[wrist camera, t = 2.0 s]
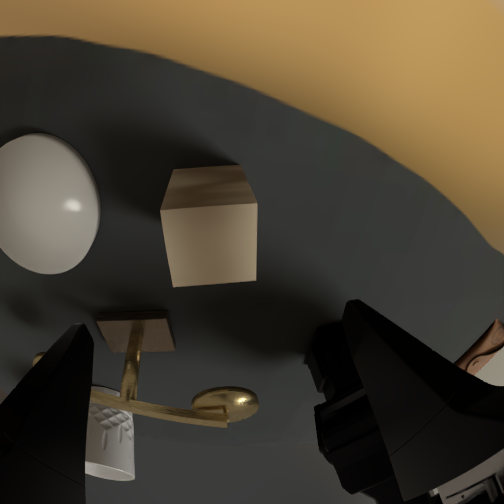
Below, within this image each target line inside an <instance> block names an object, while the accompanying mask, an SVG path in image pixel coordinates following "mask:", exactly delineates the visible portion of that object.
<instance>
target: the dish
mask: <svg viewBox="0 0 504 504" xmlns="http://www.w3.org/2000/svg"><path fill="white" fill-rule="evenodd" d="M100 219H101V202H100V195H99V191H98V187H97V183H96V181H95V178H94V175H93V174H92V172H91V170H90V168H89V166H88V164H87V163H86V161H85V160H84V158H83V157H82V156H81V155H80V154H79V153H78V151H77V150H75V149H74V148H73V147H72V146H71V145H70V144H68V143H67V142H65V141H64V140H62V139H60V138H58V137H56V136H53V135H50V134H45V133H31V134H27V135H24V136H21V137H19V138H17V139H14V140H12V141H10V142H8V143H6V144H5V145H4V146H2V147H1V148H0V248H1V249H2V250H3V251H4V253H5V254H6V255H7V256H8V257H10V258H11V259H12V260H13V261H14V262H16V263H17V264H19V265H20V266H22V267H24V268H26V269H28V270H31V271H33V272H37V273H42V274H58V273H62V272H65V271H68V270H70V269H72V268H73V267H75V266H76V265H77V264H78V263H79V262H80V261H81V260H82V259H83V258H84V257H85V255H86V254H87V252H88V251H89V249H90V247H91V245H92V243H93V242H94V240H95V238H96V235H97V232H98V230H99V225H100Z"/></svg>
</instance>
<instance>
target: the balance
mask: <svg viewBox="0 0 504 504" xmlns="http://www.w3.org/2000/svg"><path fill="white" fill-rule="evenodd" d="M96 322H97V324H98V326H99V328H100V330H101V332H102V334H103V336H104V338H105V340H106V342H107V344H108V346H109V348H110V350H111V352H126V357H125V363H124V370H123V377H122V384H121V391H120V397H118V396H114V395H110V394H107V393H103V392H99V391H95V390H92V389H91V395H90V401H91V402H94V403H97V404H101V405H104V406H108V407H112V408H115V409H119V410H123V411H127V412H131V413H136V414H140V415H145V416H149V417H154V418H160V419H165V420H171V421H177V422H183V423H190V424H197V425H205V426H214V427H224V428H228V422H235V421H239V420H243V419H245V418H248V417H250V416H252V415H253V414H254V413H256V412H257V410H258V408H259V403H258V398H257V395H256V394H255V393H254V392H253V391H251V390H249V389H246V388H242V387H234V386H224V387H216V388H211V389H207V390H204V391H202V392H200V393H198V394H197V395H195V396H194V397H193V399H192V410H186V409H180V408H173V407H167V406H161V405H156V404H151V403H145V402H141V401H136V397H137V386H138V376H139V367H140V359H141V352H159V351H175V345H176V342H175V338H174V334H173V331H172V327H171V323H170V319H169V316H168V312H167V310H156V311H136V312H109V313H99V315H98V318H97V321H96ZM45 353H46V352H40V353H37V354H36V356H35V358H34V361H33V366H34V365H35V364H36V363H37V362H38V361H39V359H40V358H41V357H42V356H43V355H44V354H45Z"/></svg>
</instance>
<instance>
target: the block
mask: <svg viewBox="0 0 504 504" xmlns="http://www.w3.org/2000/svg"><path fill="white" fill-rule="evenodd" d="M160 213H161V220H162V226H163V233H164V239H165V245H166V251H167V257H168V262H169V268H170V273H171V278H172V283H173V287H182V286H196V285H209V284H221V283H233V282H245V281H256V254H257V201H256V199H255V197H254V195H253V192H252V190H251V188H250V185H249V183H248V181H247V179H246V176H245V174H244V172H243V170H242V168H241V165H230V166H212V167H198V168H185V169H174V170H173V173H172V175H171V178H170V181H169V184H168V187H167V190H166V193H165V196H164V200H163V203H162V206H161V209H160Z"/></svg>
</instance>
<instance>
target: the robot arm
mask: <svg viewBox="0 0 504 504" xmlns="http://www.w3.org/2000/svg"><path fill="white" fill-rule="evenodd" d="M93 352H94V341H93V338H92V336H91V335H90V333H89V331H88V329H87V327H86V325H85V324H83V323H75V324H73V325H72V326H71V327H70V328H69V329H68V330H67V331H66V332H65V333H64V334H63V335H62V336H61V337H60V338H59V339H58V340H57V341H56V342H55V343H54V344H53V345H52V347H51V348H50V349H49V350H48V351H47V352H46V353H45V354H44V355H43V356H42V357H41V358H40V359H39V361H38V362H37V363H36V364H35V365H34V366H33V367H32V368H31V370H30V371H29V372H28V373H27V374H26V375H25V376H24V377H23V379H22V380H21V381H20V382H19V383H18V384H17V386H16V388H14V389H13V390H12V391H11V393H10V394H9V395H8V396H7V397H6V398H5V400H4V401H3V402H2V403H1V404H0V504H86V497H85V457H86V437H87V424H88V413H89V404H90V395H91V387H92V371H93ZM307 363H308V368H309V369H310V371H311V374H312V377H313V380H314V383H315V386H316V388H317V391H318V392H319V393H324V396H325V398H326V402H324V403H322V404H318V405H316V406H314V411H315V414H314V416H315V423H316V431H317V439H318V446H319V451H320V453H321V454H323V455H324V457H325V458H326V460H327V461H328V462H329V463H330V464H332V465H333V466H334V468H335V470H336V472H337V474H338V477H339V479H340V482H341V485H342V487H343V488H344V489H345V490H346V491H347V492H349V493H350V494H356V493H358V492H361V493H363V494H365V495H366V496H368V497H371V498H372V499H374V500H375V501H376V503H377V504H504V386H494V385H491V384H488V383H486V382H484V381H483V380H481V379H479V378H477V377H475V376H474V375H472V374H470V373H469V372H467V371H465V370H463V369H462V368H460V367H458V366H457V365H455V364H453V363H452V362H450V361H449V360H447V359H446V358H444V357H443V356H441V355H440V354H438V353H437V352H435V351H433V350H432V349H431V348H430V347H428V346H427V345H425V344H424V343H422V342H421V341H419V340H418V339H417V338H415V337H414V336H412V335H411V334H409V333H408V332H406V331H405V330H403V329H402V328H401V327H399V326H398V325H396V324H395V323H393V322H392V321H390V320H389V319H387V318H386V317H384V316H383V315H381V314H380V313H379V312H377V311H376V310H374V309H373V308H371V307H370V306H368V305H367V304H365V303H364V302H362V301H361V300H359V299H355V300H349V301H348V302H347V303H346V306H345V310H344V313H343V317H342V323H339V324H333V325H327V326H321V327H319V328H318V329H317V330H316V333H315V337H314V342H313V345H312V346H311V348H310V352H309V356H308V360H307ZM435 488H437V489H438V492H439V493H437V494H436V495H434V492H433V489H435Z"/></svg>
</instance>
